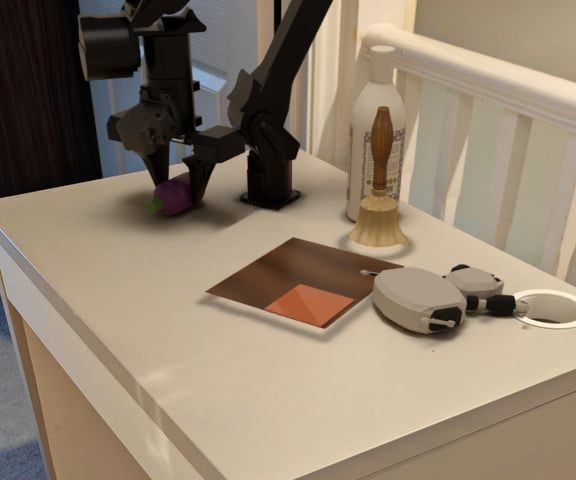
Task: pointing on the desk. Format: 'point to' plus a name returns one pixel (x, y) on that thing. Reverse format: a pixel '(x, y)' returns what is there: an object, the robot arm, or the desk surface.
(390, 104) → the bath foam
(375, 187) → the hand bell
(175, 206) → the eggplant
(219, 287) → the board
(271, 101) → the robot arm
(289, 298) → the corner square
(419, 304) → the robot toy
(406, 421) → the desk surface
